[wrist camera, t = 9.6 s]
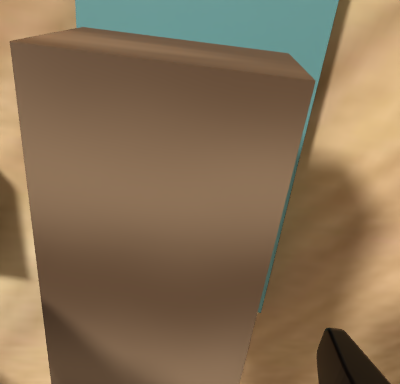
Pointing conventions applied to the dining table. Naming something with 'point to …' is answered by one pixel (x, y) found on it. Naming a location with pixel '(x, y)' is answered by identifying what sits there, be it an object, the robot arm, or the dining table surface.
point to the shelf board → (154, 198)
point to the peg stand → (227, 34)
